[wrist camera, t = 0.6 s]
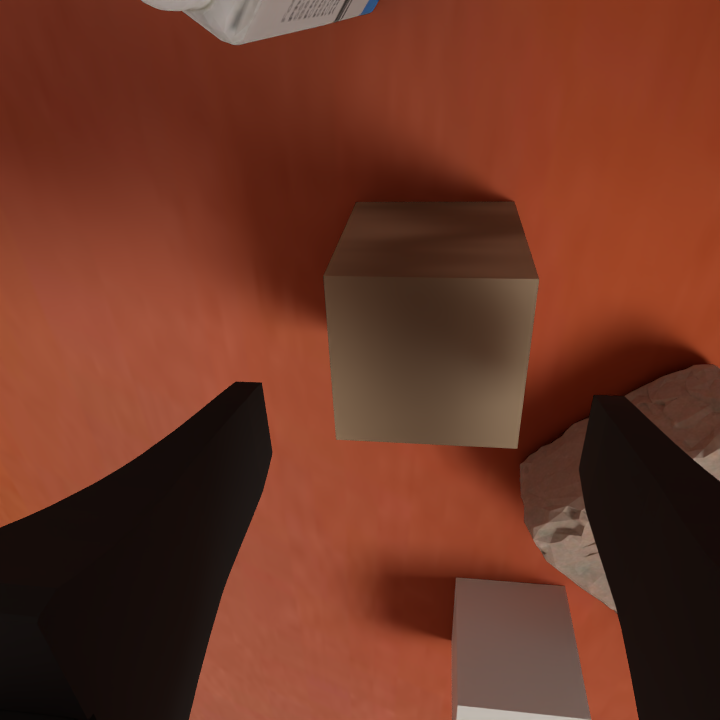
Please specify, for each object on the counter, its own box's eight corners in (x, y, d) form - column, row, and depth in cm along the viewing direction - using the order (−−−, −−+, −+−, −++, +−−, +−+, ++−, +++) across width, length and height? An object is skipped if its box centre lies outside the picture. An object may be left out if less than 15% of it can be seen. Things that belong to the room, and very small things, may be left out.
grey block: (564, 585, 27) (591, 719, 22) (550, 648, 30) (571, 782, 25) (455, 576, 28) (457, 705, 23) (451, 639, 31) (452, 767, 26)
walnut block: (514, 200, 18) (539, 279, 13) (500, 339, 21) (517, 448, 16) (356, 201, 19) (323, 276, 14) (362, 335, 22) (336, 439, 17)
